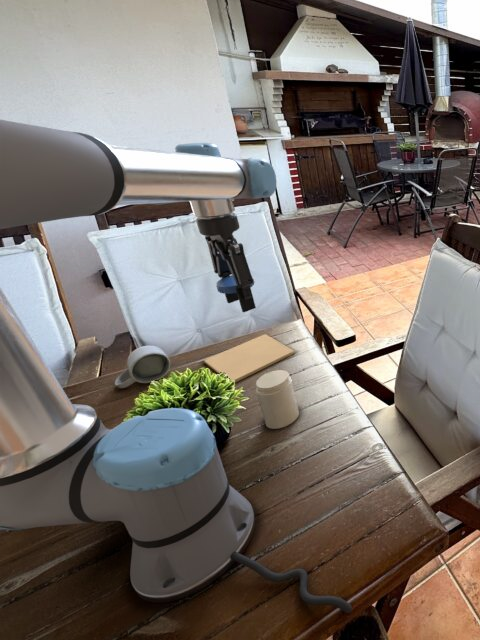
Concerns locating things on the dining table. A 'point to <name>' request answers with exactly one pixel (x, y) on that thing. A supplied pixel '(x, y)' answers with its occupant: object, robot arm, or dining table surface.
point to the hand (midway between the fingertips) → (241, 305)
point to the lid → (228, 285)
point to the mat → (249, 357)
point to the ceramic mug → (144, 366)
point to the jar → (277, 399)
